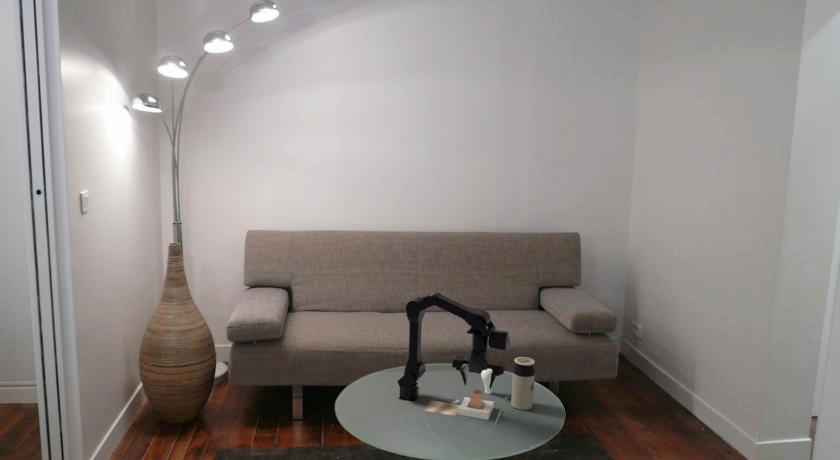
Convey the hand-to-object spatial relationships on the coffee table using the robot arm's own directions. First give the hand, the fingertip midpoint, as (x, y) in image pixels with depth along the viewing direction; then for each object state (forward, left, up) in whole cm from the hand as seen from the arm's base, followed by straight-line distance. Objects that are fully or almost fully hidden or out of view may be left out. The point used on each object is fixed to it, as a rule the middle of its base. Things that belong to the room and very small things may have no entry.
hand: (477, 387), depth 219 cm
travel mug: (+15, +12, -10) cm, 22 cm away
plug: (0, 0, -9) cm, 9 cm away
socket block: (0, 0, -10) cm, 10 cm away
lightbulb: (+1, +17, -10) cm, 20 cm away
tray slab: (-12, -2, -10) cm, 16 cm away
